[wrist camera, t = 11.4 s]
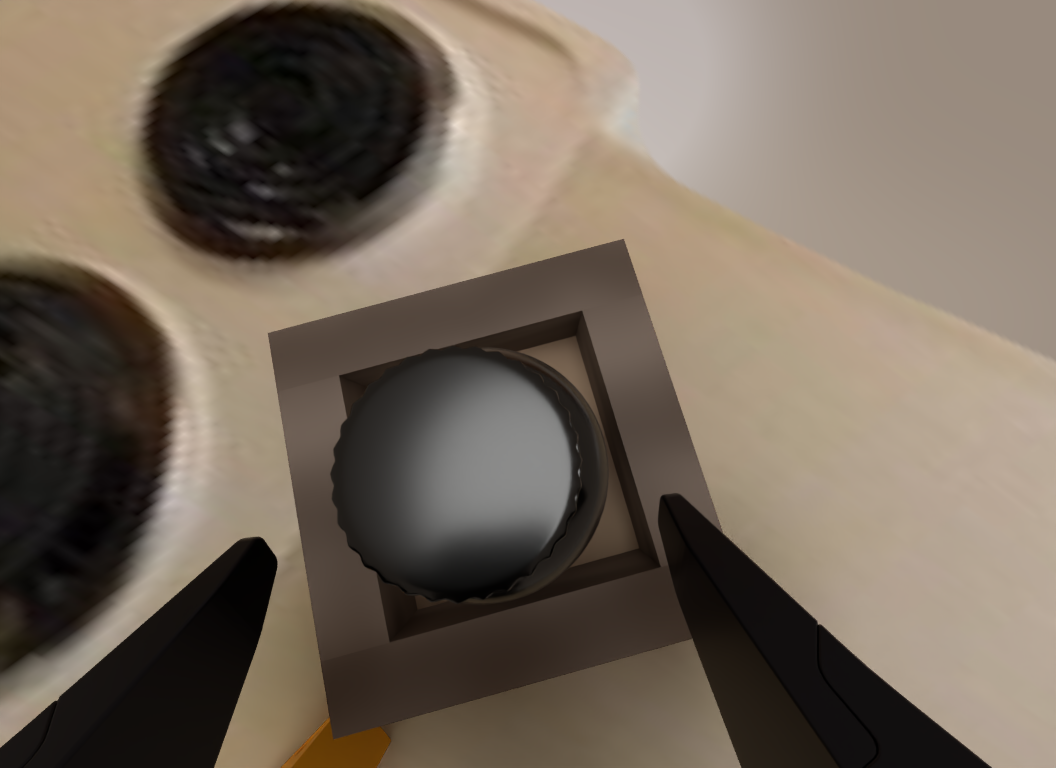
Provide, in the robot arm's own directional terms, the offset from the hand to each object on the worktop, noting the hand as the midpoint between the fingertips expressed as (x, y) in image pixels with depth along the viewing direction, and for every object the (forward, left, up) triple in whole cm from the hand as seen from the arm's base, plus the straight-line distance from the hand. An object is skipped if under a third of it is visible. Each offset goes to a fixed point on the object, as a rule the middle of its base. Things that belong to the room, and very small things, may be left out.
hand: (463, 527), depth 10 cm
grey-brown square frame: (+1, 0, -11) cm, 11 cm away
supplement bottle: (+1, 0, -10) cm, 10 cm away
